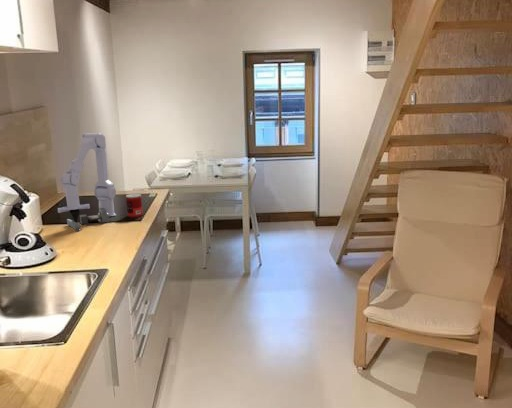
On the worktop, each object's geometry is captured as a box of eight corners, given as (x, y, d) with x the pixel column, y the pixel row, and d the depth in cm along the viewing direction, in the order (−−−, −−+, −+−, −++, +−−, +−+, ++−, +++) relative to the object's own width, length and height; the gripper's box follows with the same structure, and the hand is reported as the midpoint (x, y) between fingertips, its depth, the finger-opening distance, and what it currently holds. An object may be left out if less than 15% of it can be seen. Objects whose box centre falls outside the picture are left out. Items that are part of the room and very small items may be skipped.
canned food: (144, 213, 275) (143, 193, 273) (140, 217, 268) (138, 196, 265) (130, 213, 276) (128, 193, 274) (125, 217, 269) (123, 196, 266)
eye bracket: (97, 220, 265) (96, 208, 263) (107, 219, 267) (106, 207, 265) (99, 223, 259) (98, 211, 258) (110, 221, 262) (108, 209, 260)
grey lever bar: (66, 224, 257) (65, 218, 256) (70, 223, 258) (70, 217, 258) (76, 230, 247) (75, 223, 246) (81, 229, 248) (80, 222, 247)
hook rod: (80, 223, 260) (79, 215, 259) (109, 218, 266) (108, 211, 265) (81, 224, 257) (80, 217, 256) (110, 220, 263) (110, 212, 262)
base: (73, 229, 249) (73, 229, 249) (81, 228, 251) (81, 228, 251) (74, 231, 246) (74, 231, 246) (82, 230, 248) (82, 230, 248)
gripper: (57, 201, 243) (61, 229, 246) (89, 196, 249) (92, 224, 253) (55, 198, 249) (59, 225, 252) (87, 194, 255) (90, 220, 259)
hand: (76, 224), depth 253 cm, fingers closed, pressing on grey lever bar
